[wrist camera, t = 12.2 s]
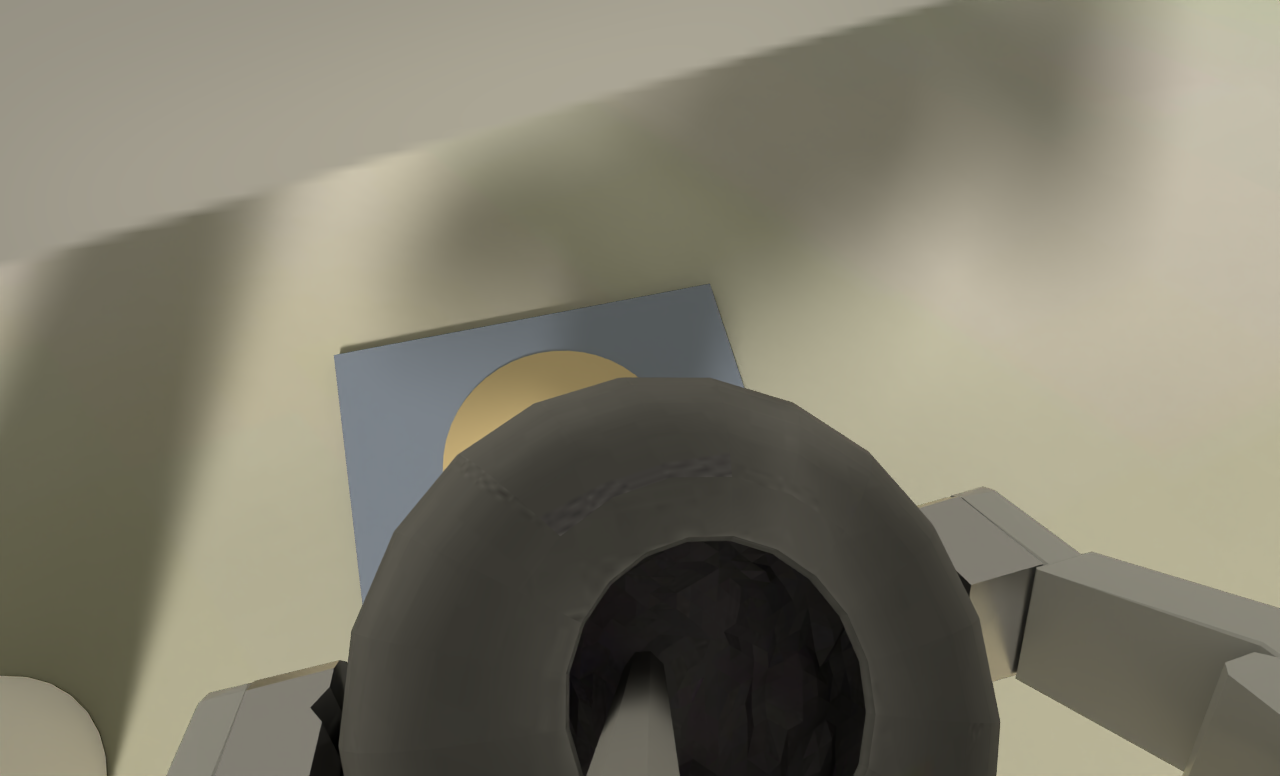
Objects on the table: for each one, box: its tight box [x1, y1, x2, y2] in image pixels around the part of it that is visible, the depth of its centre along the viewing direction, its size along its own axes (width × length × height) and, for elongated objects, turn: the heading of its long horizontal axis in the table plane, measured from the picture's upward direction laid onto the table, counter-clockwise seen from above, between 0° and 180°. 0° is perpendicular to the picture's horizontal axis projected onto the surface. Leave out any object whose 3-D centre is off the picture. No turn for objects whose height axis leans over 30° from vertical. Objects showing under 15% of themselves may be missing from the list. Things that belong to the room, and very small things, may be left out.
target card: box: [334, 284, 744, 604], centre depth 23 cm, size 14×11×1 cm
